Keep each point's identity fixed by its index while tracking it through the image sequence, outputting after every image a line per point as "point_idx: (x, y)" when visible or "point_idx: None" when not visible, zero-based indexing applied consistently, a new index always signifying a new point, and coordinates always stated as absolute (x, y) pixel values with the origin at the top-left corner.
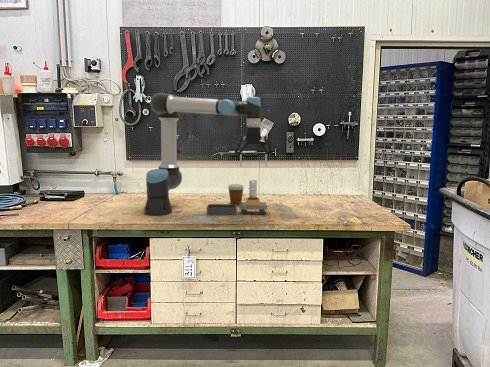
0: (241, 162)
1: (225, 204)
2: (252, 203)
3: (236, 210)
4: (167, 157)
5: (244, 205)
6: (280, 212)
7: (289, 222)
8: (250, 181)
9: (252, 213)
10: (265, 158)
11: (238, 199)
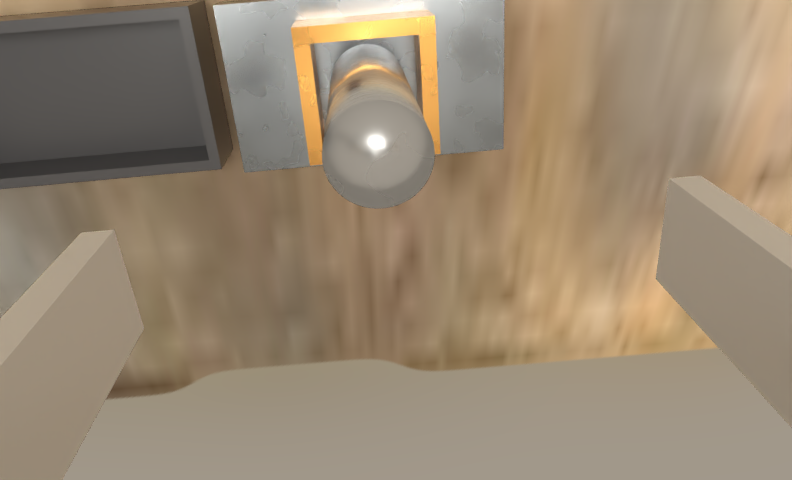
0: (107, 390)
1: (73, 27)
2: None
3: (224, 161)
4: None
5: (289, 146)
6: (612, 25)
7: (611, 310)
8: (341, 194)
9: None
10: (766, 360)
11: None
